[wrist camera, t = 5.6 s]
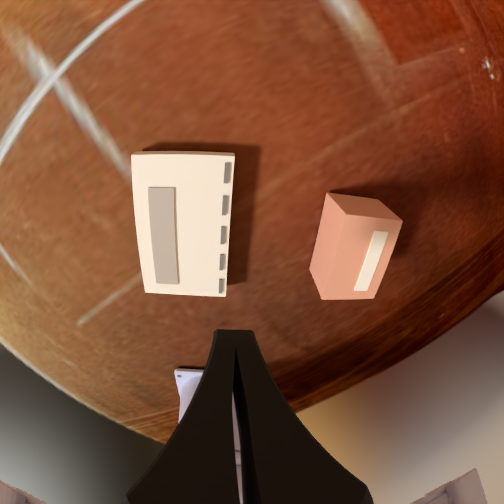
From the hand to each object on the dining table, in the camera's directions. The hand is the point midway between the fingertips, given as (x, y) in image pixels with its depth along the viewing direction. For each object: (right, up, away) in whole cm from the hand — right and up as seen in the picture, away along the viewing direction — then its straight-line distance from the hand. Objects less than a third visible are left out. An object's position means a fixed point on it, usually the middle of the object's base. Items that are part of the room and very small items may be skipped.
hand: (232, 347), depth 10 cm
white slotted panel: (-4, +5, +8) cm, 10 cm away
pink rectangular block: (+7, +5, +9) cm, 13 cm away
